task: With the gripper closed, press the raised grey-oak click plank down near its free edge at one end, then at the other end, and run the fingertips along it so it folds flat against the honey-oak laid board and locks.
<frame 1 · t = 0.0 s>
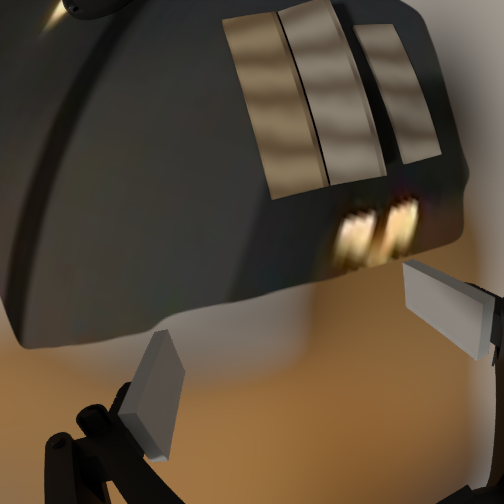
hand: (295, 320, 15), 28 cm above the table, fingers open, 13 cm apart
laid board: (273, 97, 39), on the table
click plank: (333, 83, 36), point 3 cm above the table, hinge at 30.0°
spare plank: (398, 89, 40), on the table
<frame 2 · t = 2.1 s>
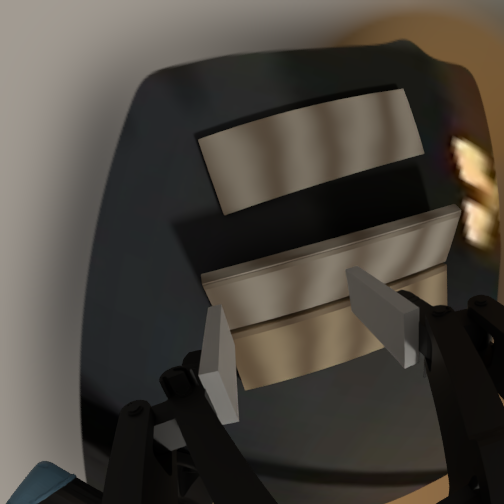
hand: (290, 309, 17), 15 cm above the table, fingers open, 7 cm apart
laid board: (350, 325, 34), on the table
click plank: (348, 267, 30), point 3 cm above the table, hinge at 30.0°
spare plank: (321, 143, 30), on the table
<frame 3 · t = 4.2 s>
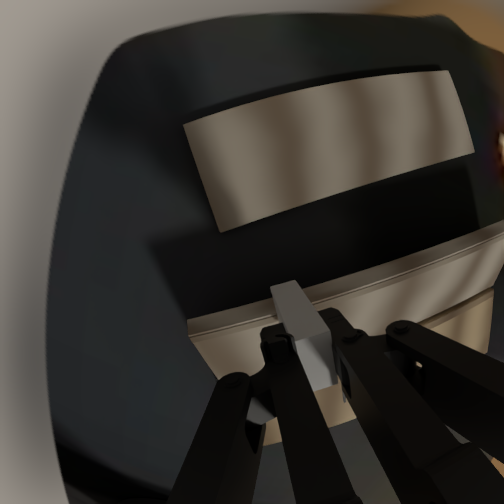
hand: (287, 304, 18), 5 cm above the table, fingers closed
laid board: (381, 369, 25), on the table
click plank: (389, 303, 21), point 3 cm above the table, hinge at 29.7°, touching gripper
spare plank: (352, 133, 21), on the table
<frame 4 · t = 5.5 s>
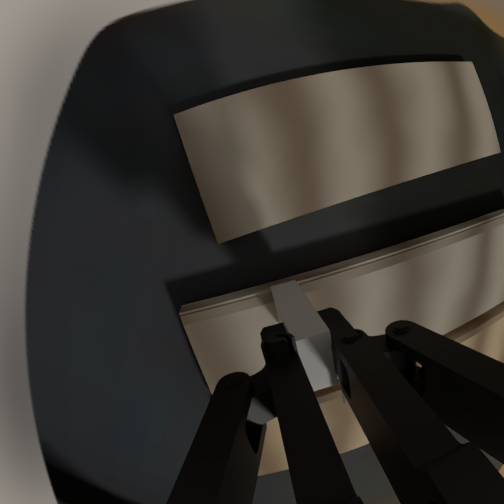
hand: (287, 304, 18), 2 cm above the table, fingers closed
laid board: (397, 391, 22), on the table
click plank: (399, 303, 19), point 1 cm above the table, hinge at 1.0°, touching gripper
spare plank: (372, 126, 18), on the table
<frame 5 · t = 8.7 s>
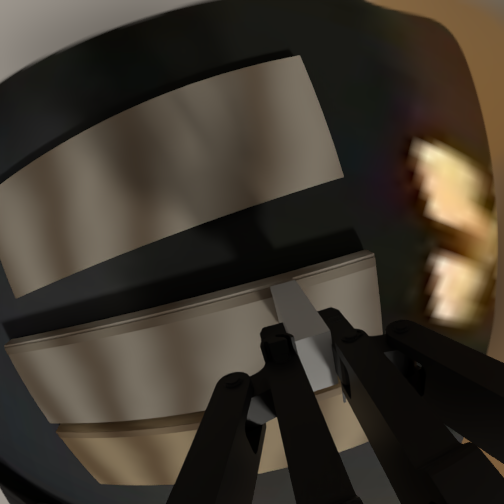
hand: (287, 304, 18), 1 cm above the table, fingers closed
laid board: (216, 443, 21), on the table
click plank: (173, 364, 19), point 1 cm above the table, hinge at 0.2°, touching gripper
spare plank: (132, 179, 17), on the table
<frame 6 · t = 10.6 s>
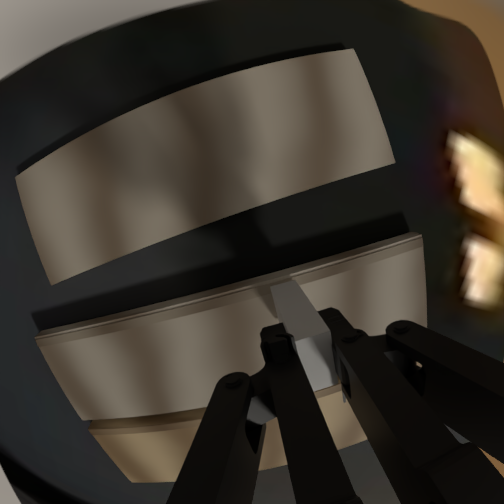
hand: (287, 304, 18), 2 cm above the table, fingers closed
laid board: (261, 431, 22), on the table
click plank: (229, 348, 19), point 1 cm above the table, hinge at -0.2°
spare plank: (191, 158, 18), on the table
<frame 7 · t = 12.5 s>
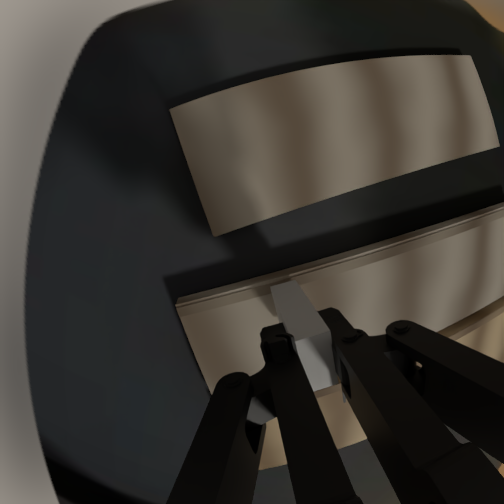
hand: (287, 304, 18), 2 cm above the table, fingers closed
laid board: (395, 387, 22), on the table
click plank: (396, 296, 19), point 1 cm above the table, hinge at -0.2°
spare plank: (369, 120, 18), on the table
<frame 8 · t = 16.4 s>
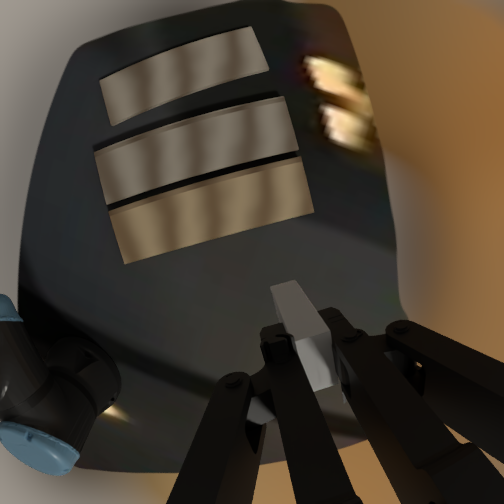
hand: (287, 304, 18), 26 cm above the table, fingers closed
laid board: (209, 209, 42), on the table
click plank: (192, 147, 40), point 1 cm above the table, hinge at -0.2°
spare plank: (181, 72, 38), on the table
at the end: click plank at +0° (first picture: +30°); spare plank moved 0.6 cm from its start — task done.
